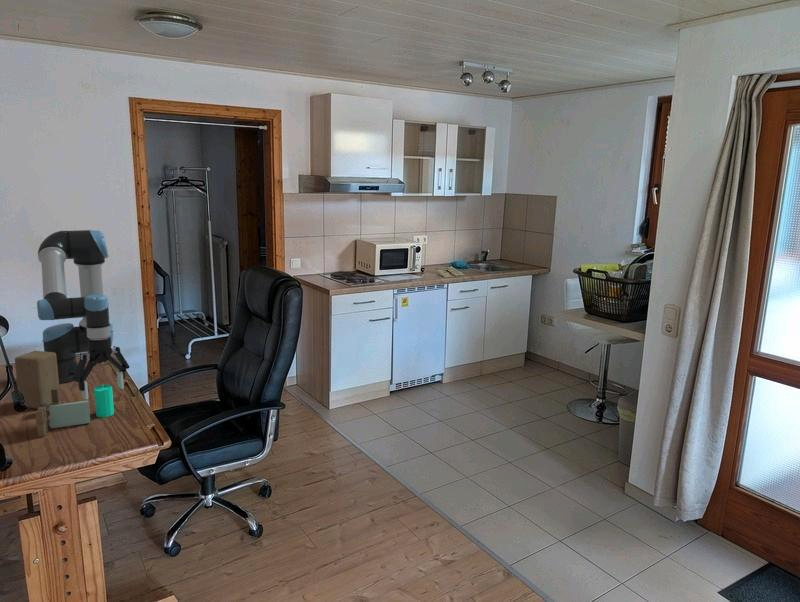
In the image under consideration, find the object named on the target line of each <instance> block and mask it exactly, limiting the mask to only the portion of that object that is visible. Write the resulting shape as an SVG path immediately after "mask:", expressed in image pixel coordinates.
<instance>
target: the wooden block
mask: <svg viewBox="0 0 800 602" xmlns="http://www.w3.org/2000/svg"><path fill="white" fill-rule="evenodd" d="M14 364H15V373H16V382H17V392H18V391H19V392H21V393H22V394H23V396H24V400H25V402H24V405H25V406H26V407H25V408H29V409H37V410H38V408H39V407H40V404H42V403H47V407H49V406H50V405H52V397H51V389H52V388H54V387H57V386H60V383H59V379H58V368H57V358H56V353H54V352H45V351H44V350H43V351H42V350H32V351H29V352H26V353H24V354H21V355H17V356H15V358H14Z"/></svg>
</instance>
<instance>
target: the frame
mask: <svg viewBox="0 0 800 602" xmlns="http://www.w3.org/2000/svg"><path fill="white" fill-rule="evenodd" d="M51 397H52V404H51V405H57V404H63V398H62V388H61V386H60V385H59V386H57V387H54V388H52V389H51ZM48 410H49V409H48V406H47V403H42V404H40V407H39V408H38V409H37V410H36V411H35V412H34V413H35V415H34V416H35V423H36V429H37V430H36V432H37V438H45V437H46V436H47V434H48V433H49V430H50V429H52V428H51V421H50V418H49V411H48Z"/></svg>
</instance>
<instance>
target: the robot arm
mask: <svg viewBox="0 0 800 602" xmlns="http://www.w3.org/2000/svg"><path fill="white" fill-rule="evenodd" d="M37 258H38V261H39V262H40V263H41V279H42V280H41V281H42V297H43V298H42V299H39V300H37V301H36V308H37V309H36V310H37V317H38V319H39V320H40V321H55V320H56V321H57V320H65V319H79V318H82V319H81V320H80V321H79V322H78V325H79V326H74V324H73V323H70V322H68V323H59V324H54V325H51V326H48V327H46V328H45V329H44V330H43V331H42V343H43V351H45V352H54V353H56V358H57V368H58V379H59V384H65V383H69V382H75V383H78V390H79V391H80V392H81V398H82V399H84V400H85V401H88V400H89V389H88V388H89V387H88V381H86V380H87V379H88V376H89V375H90V374H91V372H92V370H93V368H94V367H96V366H97V365H98V364H99V365H100V364H102V363H106V362H107V361H108V363H110V364H111V365H112V366H114V367H115V368H116V369H117V371H116V381H117V388H118V389H121V390H124V389H125V384H124V380H125V379H126V373H125V372H127V369H129V368H130V365H129V363H128V362H127V360H126V358H125V357H124V356H123V354H122V352H121V348H120V347H119V346H117V345H116V346H115V345H114V346H113V342H114V341H113V340H114V325H113V323H111V322H110V313H109V311H110V310H109V305H110V304H109V300H108V299H109V298H108V296H107V295H105V294H104V290H103V289H104V287H103V286H104V285H103V274H102V273H103V272H102V266H103V265H104V264H105V262H106V259H107V258H109V253H108V247H107V243H106V238H105V235H104V232H103V231H101V230H92V229H87V230H59V231H56V232H55V231H54V232H53V233H51V234H49V235H48V236H46V237H45V238H44V240H43V241H42V242H41V243H40V244H39V247H38V250H37ZM66 260H73V264H74V265H75V266H77V267H78V280H79V281H78V282H79V289H80V291H79V292H80V293H79V294H80V296H79V297H68V296H67V295H68V293H67V282H66V272H65V262H66ZM77 354H79V361H78V359H77ZM112 354H114V356H115V357H116V358H117V360H118V361H117V360H115V358H114V357H113V356H112Z"/></svg>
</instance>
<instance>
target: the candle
mask: <svg viewBox="0 0 800 602" xmlns="http://www.w3.org/2000/svg"><path fill="white" fill-rule="evenodd" d="M93 389H94V390H93V393H94V405H95V415H96V417H98V418H107V417H111V416H113V415H114V414H115V408H114V405H115V404H114V394H113V393H114V392H113V386H111V384H106V383H104V384H101V385H97V386H95V387H94V388H93Z"/></svg>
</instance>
